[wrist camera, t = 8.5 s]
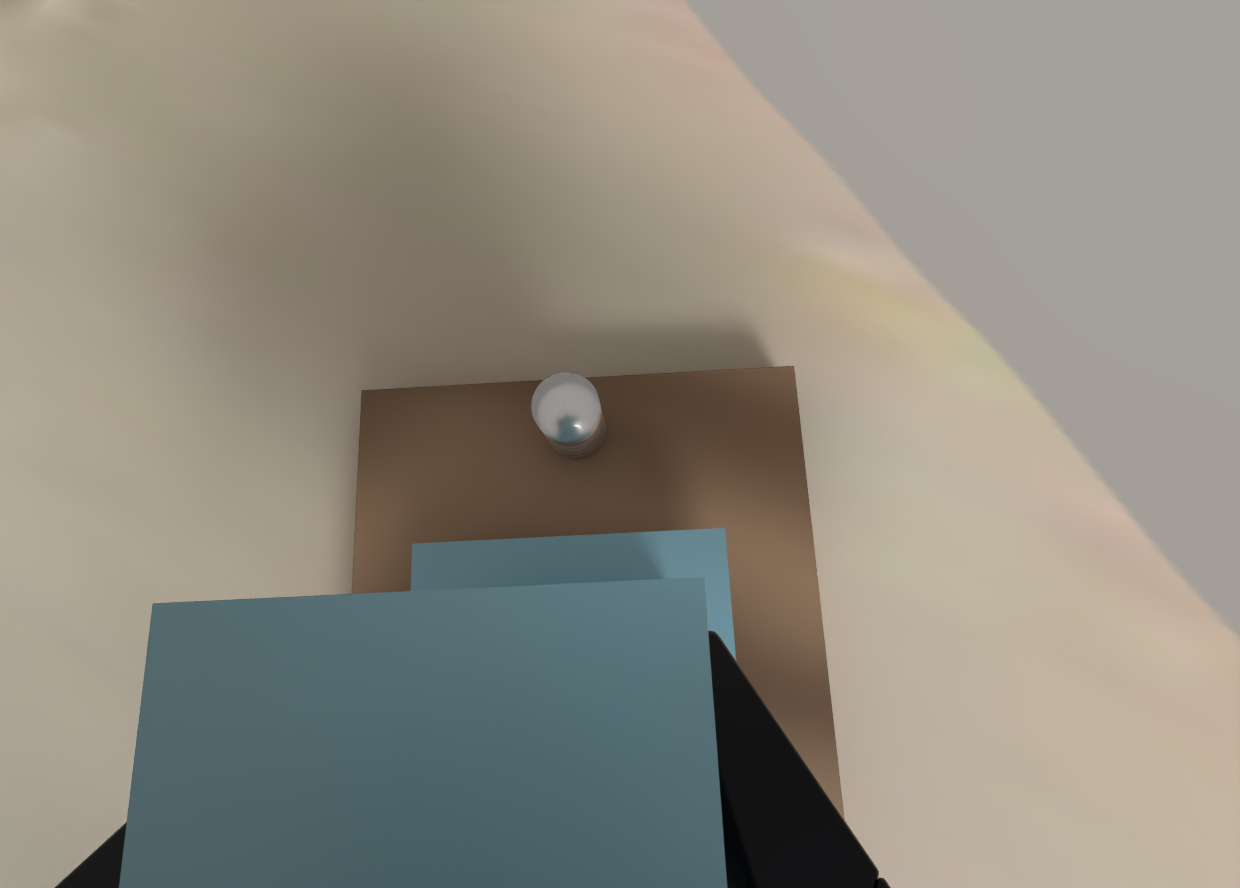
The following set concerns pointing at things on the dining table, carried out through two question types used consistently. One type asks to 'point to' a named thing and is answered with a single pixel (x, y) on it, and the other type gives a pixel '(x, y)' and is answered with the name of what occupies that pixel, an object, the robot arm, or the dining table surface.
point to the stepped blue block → (443, 725)
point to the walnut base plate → (620, 503)
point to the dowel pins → (569, 415)
